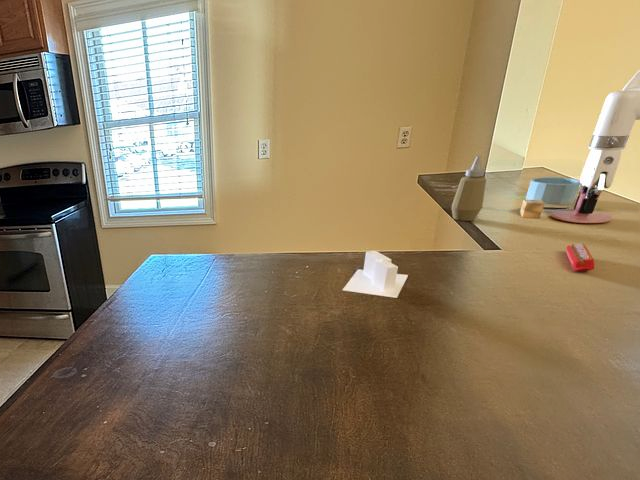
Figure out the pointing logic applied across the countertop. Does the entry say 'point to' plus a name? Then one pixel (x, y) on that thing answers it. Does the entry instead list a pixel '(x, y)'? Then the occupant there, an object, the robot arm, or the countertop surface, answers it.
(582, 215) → the pink peg stand
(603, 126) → the robot arm
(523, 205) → the block
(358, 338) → the countertop surface
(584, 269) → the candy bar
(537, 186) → the bowl
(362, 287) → the white building model
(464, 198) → the squeeze bottle
